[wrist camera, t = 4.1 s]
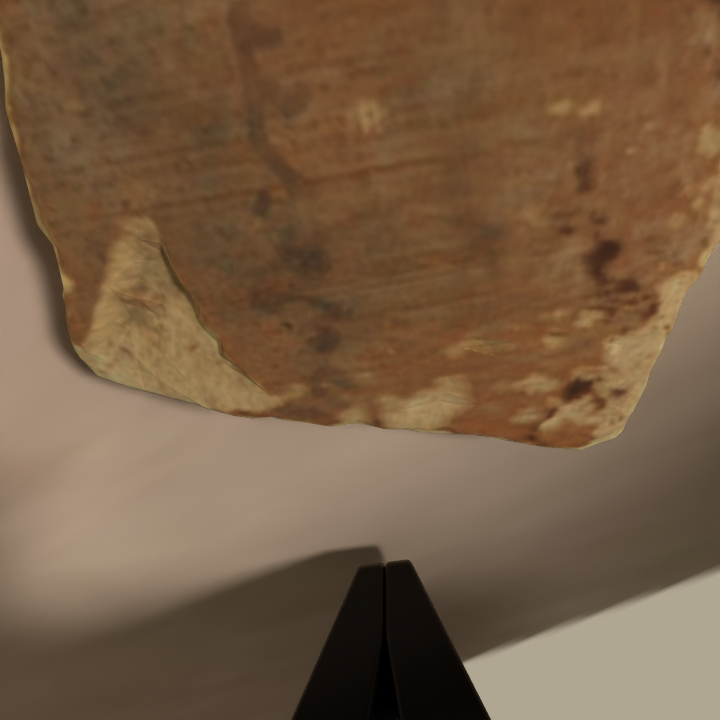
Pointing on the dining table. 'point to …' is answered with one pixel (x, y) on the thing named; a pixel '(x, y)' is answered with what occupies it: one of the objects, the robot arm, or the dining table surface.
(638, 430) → the dining table surface
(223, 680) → the dining table surface
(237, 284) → the shard
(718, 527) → the dining table surface
